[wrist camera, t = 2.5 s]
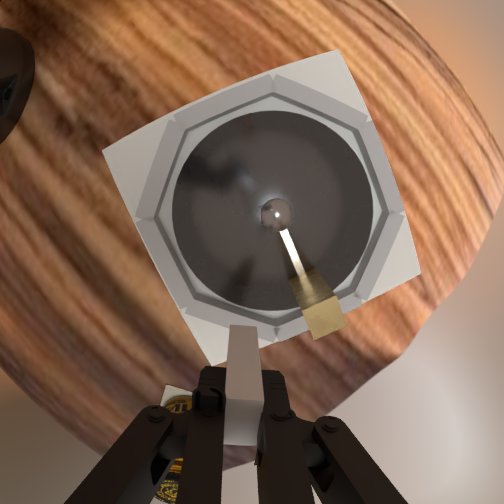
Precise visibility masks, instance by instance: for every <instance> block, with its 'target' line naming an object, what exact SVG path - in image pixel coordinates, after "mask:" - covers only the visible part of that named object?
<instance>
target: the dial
mask: <svg viewBox="0 0 504 504" xmlns="http://www.w3.org/2000/svg"><path fill="white" fill-rule="evenodd" d="M172 221H173V229H174V234H175V237H176V241H177V244H178V247H179V249H180V252H181V254H182V256H183V258H184V260H185V261H186V263H187V265H188V266H189V268H190V269H191V271H192V272H193V273H194V274H195V276H196V277H197V278H198V279H199V280H200V281H201V282H202V283H203V284H204V285H205V286H206V287H207V288H209V289H210V290H211V291H213V292H214V293H215V294H217V295H218V296H220V297H222V298H224V299H225V300H227V301H229V302H232V303H234V304H237V305H239V306H243V307H246V308H250V309H255V310H263V311H280V310H289V309H293V308H298V307H300V309H301V312H302V314H303V316H304V318H305V321H306V323H307V325H308V328H309V330H310V332H311V334H312V337H313V339H314V340H316V339H318V338H320V337H322V336H325V335H327V334H329V333H331V332H334V331H336V330H338V329H340V328H342V327H344V326H347V324H346V321H345V318H344V316H343V313H342V310H341V307H340V304H339V301H338V299H337V296H336V294H335V293H334V292H333V290H334V289H335V288H337V287H338V286H339V285H340V284H341V283H342V282H343V281H344V280H345V279H346V278H347V277H348V276H349V275H350V273H351V272H352V271H353V270H354V268H355V267H356V265H357V264H358V262H359V261H360V259H361V257H362V255H363V253H364V251H365V249H366V246H367V243H368V240H369V237H370V233H371V228H372V221H373V198H372V192H371V187H370V183H369V180H368V177H367V174H366V172H365V169H364V167H363V165H362V163H361V161H360V160H359V158H358V156H357V155H356V153H355V152H354V151H353V149H352V148H351V147H350V146H349V144H348V143H347V142H346V141H345V140H344V139H343V138H342V137H341V136H340V135H339V134H337V133H336V132H335V131H333V130H332V129H331V128H329V127H328V126H326V125H325V124H323V123H321V122H319V121H317V120H315V119H313V118H310V117H307V116H305V115H302V114H298V113H293V112H288V111H276V110H272V111H259V112H254V113H249V114H245V115H242V116H239V117H236V118H234V119H232V120H230V121H228V122H226V123H224V124H222V125H220V126H219V127H217V128H216V129H214V130H213V131H212V132H210V133H209V134H208V135H207V136H206V137H205V138H203V139H202V140H201V141H200V142H199V143H198V145H197V146H196V147H195V148H194V149H193V151H192V152H191V153H190V155H189V156H188V158H187V160H186V161H185V163H184V165H183V167H182V169H181V171H180V174H179V176H178V179H177V182H176V185H175V189H174V194H173V201H172Z"/></svg>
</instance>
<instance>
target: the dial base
mask: <svg viewBox="0 0 504 504" xmlns="http://www.w3.org/2000/svg"><path fill="white" fill-rule="evenodd" d="M272 110H276V111H288V112H293V113H298V114H302V115H305V116H307V117H310V118H313V119H315V120H317V121H319V122H321V123H323V124H325V125H326V126H328V127H329V128H331V129H332V130H333V131H335V132H336V133H337V134H339V135H340V136H341V137H342V138H343V139H344V140H345V141H346V142H347V143H348V144H349V146H350V147H351V148H352V149H353V151H354V152H355V153H356V155H357V156H358V158H359V160H360V161H361V163H362V165H363V167H364V169H365V172H366V174H367V177H368V180H369V183H370V187H371V192H372V198H373V221H372V228H371V233H370V237H369V240H368V243H367V246H366V249H365V251H364V253H363V255H362V257H361V259H360V261H359V262H358V264H357V265H356V267H355V268H354V270H353V271H352V272H351V273H350V275H349V276H348V277H347V278H346V279H345V280H344V281H343V282H342V283H341V284H340V285H339V286H338V287H337V288H335V289H334V290H333V292H334V293H335V294H336V296H337V299H338V301H339V304H340V307H341V310H342V313H343V314H345V313H347V312H349V311H351V310H354V309H356V308H358V307H360V306H362V305H363V303H364V302H366V301H369V300H371V299H373V298H375V297H377V296H379V295H381V294H383V293H385V292H387V291H389V290H391V289H392V288H394V287H396V286H398V285H400V284H402V283H404V282H406V281H408V280H410V279H412V278H414V277H415V276H417V275H419V274H421V271H420V266H419V262H418V258H417V254H416V250H415V246H414V242H413V238H412V235H411V231H410V227H409V224H408V220H407V217H406V214H405V210H404V206H403V203H402V200H401V197H400V194H399V190H398V187H397V184H396V181H395V178H394V176H393V173H392V170H391V165H390V162H389V160H388V159H387V156H386V153H385V151H384V148H383V145H382V143H381V140H380V138H379V135H378V133H377V130H376V128H375V125H374V123H373V121H372V119H371V117H370V114H369V112H368V110H367V107H366V105H365V103H364V101H363V98H362V96H361V94H360V92H359V90H358V88H357V85H356V83H355V81H354V79H353V77H352V75H351V73H350V71H349V69H348V67H347V65H346V63H345V61H344V59H343V57H342V55H341V54H340V52H339V50H338V49H337V50H334V51H330V52H326V53H323V54H319V55H316V56H312V57H309V58H306V59H302V60H299V61H296V62H293V63H290V64H287V65H284V66H281V67H278V68H275V69H272V70H269V71H266V72H264V73H261V74H258V75H255V76H253V77H250V78H248V79H245V80H242V81H240V82H237V83H235V84H232V85H230V86H228V87H225V88H223V89H220V90H218V91H216V92H213V93H211V94H209V95H207V96H204V97H202V98H200V99H198V100H196V101H193V102H191V103H189V104H187V105H185V106H183V107H181V108H179V109H177V110H175V111H172V112H170V113H168V114H166V115H165V116H163V117H161V118H159V119H157V120H155V121H153V122H151V123H149V124H147V125H145V126H144V127H142V128H140V129H138V130H136V131H134V132H133V133H131V134H129V135H127V136H126V137H124V138H122V139H120V140H119V141H117V142H115V143H114V144H112V145H110V146H109V147H107V148H105V149H104V150H102V152H103V155H104V157H105V160H106V162H107V164H108V167H109V169H110V171H111V174H112V176H113V178H114V181H115V183H116V185H117V188H118V190H119V192H120V194H121V196H122V199H123V201H124V203H125V205H126V207H127V210H128V212H129V214H130V216H131V218H132V220H133V222H134V224H135V227H136V229H137V231H138V233H139V235H140V237H141V239H142V241H143V243H144V245H145V247H146V249H147V251H148V253H149V255H150V257H151V259H152V261H153V263H154V265H155V267H156V269H157V271H158V272H159V274H160V276H161V278H162V280H163V282H164V284H165V286H166V288H167V289H168V291H169V293H170V295H171V297H172V299H173V300H174V302H175V304H176V306H177V308H178V309H179V311H180V313H181V315H182V317H183V318H184V320H185V322H186V324H187V325H188V327H189V329H190V331H191V332H192V334H193V336H194V337H195V339H196V341H197V342H198V344H199V346H200V348H201V349H202V351H203V353H204V354H205V356H206V357H207V359H208V361H209V362H210V364H211V366H214V365H217V364H220V363H223V362H225V361H227V352H228V341H229V329H230V324H232V325H243V326H256V327H257V334H258V344H259V348H262V347H265V346H267V345H270V344H272V343H274V342H277V341H279V342H281V341H284V340H286V339H288V338H291V337H293V336H296V335H298V334H300V333H303V332H305V331H307V330H309V328H308V325H307V323H306V321H305V318H304V316H303V314H302V312H301V309H300V307H298V308H293V309H289V310H280V311H263V310H255V309H250V308H246V307H243V306H239V305H237V304H234V303H232V302H229V301H227V300H225V299H224V298H222V297H220V296H218V295H217V294H215V293H214V292H213V291H211V290H210V289H209V288H207V287H206V286H205V285H204V284H203V283H202V282H201V281H200V280H199V279H198V278H197V277H196V276H195V274H194V273H193V272H192V271H191V269H190V268H189V266H188V265H187V263H186V261H185V260H184V258H183V256H182V254H181V252H180V249H179V247H178V244H177V241H176V237H175V234H174V229H173V221H172V201H173V194H174V189H175V185H176V182H177V179H178V176H179V174H180V171H181V169H182V167H183V165H184V163H185V161H186V160H187V158H188V156H189V155H190V153H191V152H192V151H193V149H194V148H195V147H196V146H197V145H198V143H199V142H200V141H201V140H202V139H203V138H205V137H206V136H207V135H208V134H209V133H210V132H212V131H213V130H214V129H216V128H217V127H219V126H220V125H222V124H224V123H226V122H228V121H230V120H232V119H234V118H236V117H239V116H242V115H245V114H249V113H254V112H259V111H272Z"/></svg>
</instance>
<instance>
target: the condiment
mask: <svg viewBox="0 0 504 504" xmlns="http://www.w3.org/2000/svg"><path fill="white" fill-rule="evenodd" d="M192 393H193V392H190V391H186V390H183V389H180V388H177V387H174V386H170V385H166V387H165V391H164V394H163V398H162V401H161V405H160V406H163V407H165V408H167V409H169V410H170V411H171V412H172V414H175V413H183V412H186V411H188V410H190V409H191V408H192ZM182 461H183V458H182V459H175V462H174V463H173V465H172V467H171V469H170V470H169V472H168V474H167V475H166V477H165V479H164V481H163V482H162V484H161V486H160V487H159V489H158V491H157V492H156V494H155V496H154V497H155V498H157V499H159V500H160V501H163V502H166V503H168V504H175V502H176V496H177V490H178V484H179V478H180V472H181V466H182Z"/></svg>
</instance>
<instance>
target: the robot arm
mask: <svg viewBox="0 0 504 504" xmlns="http://www.w3.org/2000/svg"><path fill="white" fill-rule="evenodd" d="M1 1H2V0H0V2H1ZM33 74H34V54H33V49H32V46H31V44H30V42H29V41H28V39H27V38H26V37H24V36H23V35H21V34H19V33H18V32H16V31H14V30H12V29H8V28H0V143H1V142H2V141H3V140H4V139H5V138H6V136H7V135H8V134H9V133H10V131H11V130H12V128H13V127H14V125H15V124H16V122H17V120H18V118H19V117H20V115H21V113H22V110H23V108H24V106H25V103H26V101H27V98H28V95H29V92H30V88H31V85H32V80H33ZM223 444H230V445H246V446H256V444H258V448H257V453H256V458H255V463H254V465H257V479H258V495H259V504H315V502H314V496H313V492H312V487H313V488H314V490H315V492H316V494H317V496H318V497H319V499H320V501H321V503H322V504H408V503H407V502H406V500H405V499H404V498H403V497H402V495H401V494H400V493H399V492H398V490H397V489H396V488H395V487H394V485H393V484H392V483H391V482H390V480H389V479H388V478H387V477H386V475H385V474H384V473H383V472H382V470H381V469H380V468H379V466H378V465H377V464H376V463H375V462H374V460H373V459H372V458H371V456H370V455H369V454H368V452H367V451H366V450H365V449H364V447H363V446H362V445H361V444H360V442H359V441H358V440H357V438H356V437H355V436H354V434H353V433H352V432H351V431H350V429H349V428H348V427H347V425H346V424H345V423H344V422H343V421H342V420H341V419H339V418H337V417H333V416H323V417H320V418H318V419H317V420H316V421H315V422H310V421H306V420H303V419H300V418H298V417H297V416H296V414H295V412H294V411H293V410H291V408H290V404H289V399H288V394H287V390H286V385H285V379H284V376H283V375H282V374H281V373H280V372H279V371H275V370H261V364H260V354H259V344H258V334H257V327H256V326H243V325H232V324H230V329H229V341H228V352H227V363H226V368H223V367H213V366H206V367H205V368H204V369H203V370H201V373H200V378H199V384H198V388H197V389H195V390H194V391H193V393H192V408H191V409H190V410H188V411H186V412H183V413H175V414H172V412H171V411H170V410H169V409H167V408H165V407H163V406H157V405H155V406H148V407H145V408H144V409H143V410H141V412H140V413H139V414H138V415H137V416H136V418H135V419H134V420H133V421H132V422H131V424H130V425H129V426H128V427H127V429H126V430H125V431H124V432H123V433H122V435H121V436H120V437H119V438H118V439H117V441H116V442H115V443H114V444H113V446H112V447H111V448H110V449H109V450H108V452H107V453H106V454H105V455H104V456H103V458H102V459H101V460H100V461H99V462H98V464H97V465H96V466H95V467H94V468H93V470H92V471H91V472H90V473H89V474H88V476H87V477H86V478H85V479H84V481H82V483H81V484H80V485H79V486H78V487H77V489H76V490H75V491H74V492H73V493H72V495H71V496H70V497H69V498H68V499H67V500H66V502H65V503H64V504H150V503H151V501H152V499H153V497H154V496H155V494H156V492H157V491H158V489H159V487H160V486H161V484H162V482H163V481H164V479H165V477H166V475H167V474H168V472H169V470H170V469H171V467H172V465H173V463H174V462H175V459H182V458H183V461H182V466H181V472H180V478H179V484H178V490H177V496H176V502H175V504H221V488H222V486H221V485H222V465H223ZM311 485H312V487H311Z"/></svg>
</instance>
